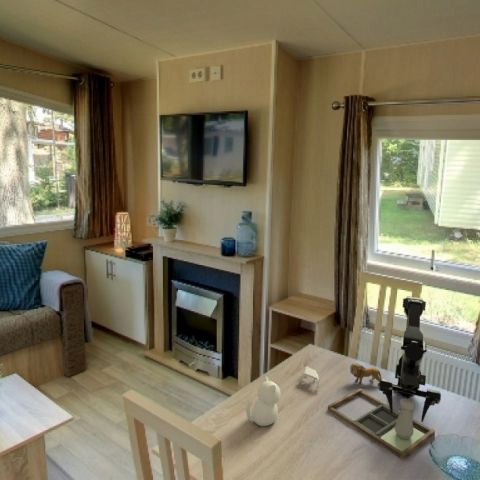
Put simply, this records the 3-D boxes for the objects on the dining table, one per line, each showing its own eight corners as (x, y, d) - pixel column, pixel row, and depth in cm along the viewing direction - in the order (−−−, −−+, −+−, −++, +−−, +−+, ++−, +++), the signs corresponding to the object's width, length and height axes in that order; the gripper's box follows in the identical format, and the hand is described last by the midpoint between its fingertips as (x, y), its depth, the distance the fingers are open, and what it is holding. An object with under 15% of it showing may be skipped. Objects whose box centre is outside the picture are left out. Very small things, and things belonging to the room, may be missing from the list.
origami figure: (293, 380, 164) (293, 369, 163) (308, 374, 169) (308, 364, 168) (313, 395, 155) (314, 383, 154) (328, 388, 159) (329, 377, 158)
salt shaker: (416, 438, 131) (421, 403, 128) (404, 444, 128) (409, 408, 126) (401, 428, 136) (405, 393, 133) (390, 433, 133) (394, 398, 131)
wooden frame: (359, 393, 156) (359, 388, 156) (434, 435, 133) (435, 430, 133) (327, 410, 145) (327, 405, 145) (403, 460, 122) (404, 454, 121)
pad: (402, 422, 139) (403, 421, 139) (426, 436, 133) (426, 435, 133) (379, 438, 131) (379, 437, 131) (403, 453, 125) (403, 452, 124)
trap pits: (381, 407, 148) (382, 404, 147) (403, 420, 141) (403, 416, 140) (353, 424, 138) (353, 420, 137) (375, 439, 131) (375, 435, 130)
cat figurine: (284, 425, 136) (287, 385, 134) (251, 433, 131) (253, 392, 129) (271, 410, 145) (274, 372, 142) (240, 417, 139) (242, 378, 137)
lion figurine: (351, 387, 160) (353, 367, 158) (346, 380, 165) (348, 360, 164) (385, 385, 162) (388, 365, 161) (379, 378, 167) (381, 359, 166)
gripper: (382, 356, 134) (376, 404, 126) (444, 369, 127) (442, 420, 119) (381, 367, 143) (376, 412, 135) (439, 379, 136) (437, 427, 128)
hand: (406, 417), depth 129 cm, fingers open, 9 cm apart
